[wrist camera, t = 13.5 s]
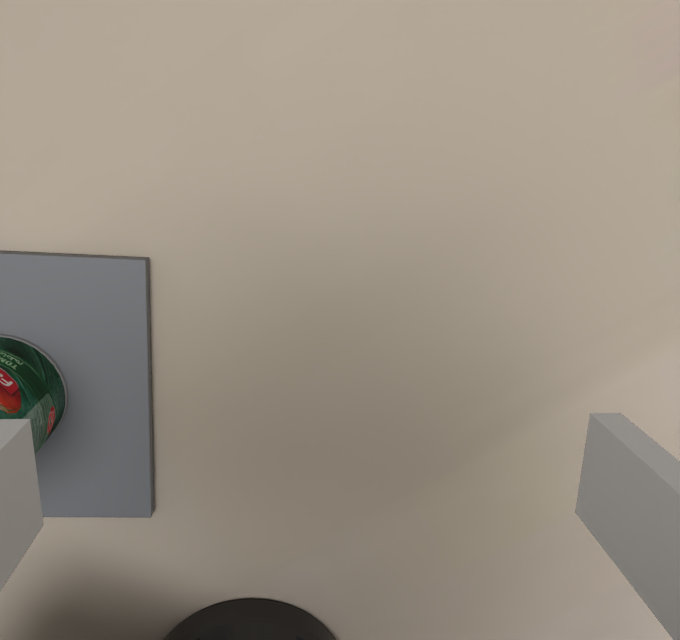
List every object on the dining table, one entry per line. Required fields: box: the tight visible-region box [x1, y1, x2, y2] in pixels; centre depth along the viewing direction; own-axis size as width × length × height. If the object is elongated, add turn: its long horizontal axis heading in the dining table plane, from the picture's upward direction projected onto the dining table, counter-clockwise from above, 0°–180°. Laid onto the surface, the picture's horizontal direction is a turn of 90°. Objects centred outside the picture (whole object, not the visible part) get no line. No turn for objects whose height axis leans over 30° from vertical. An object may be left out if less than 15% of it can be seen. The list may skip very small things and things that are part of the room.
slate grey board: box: [0, 251, 154, 518], centre depth 39 cm, size 18×18×1 cm
